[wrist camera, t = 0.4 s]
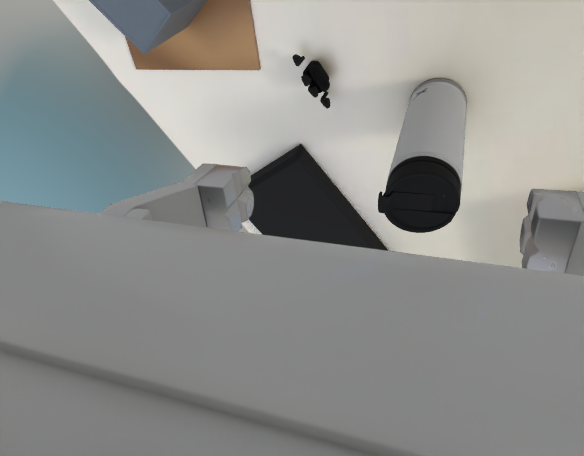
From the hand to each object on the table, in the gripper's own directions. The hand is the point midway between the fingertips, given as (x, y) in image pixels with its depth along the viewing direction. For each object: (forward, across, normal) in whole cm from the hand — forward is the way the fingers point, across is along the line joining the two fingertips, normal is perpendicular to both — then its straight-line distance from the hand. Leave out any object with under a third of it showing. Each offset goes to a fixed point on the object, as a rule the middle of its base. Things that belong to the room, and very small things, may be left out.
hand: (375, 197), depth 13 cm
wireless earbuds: (+40, +13, +6) cm, 43 cm away
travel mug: (+41, 0, +10) cm, 42 cm away
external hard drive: (+43, +17, +30) cm, 55 cm away
